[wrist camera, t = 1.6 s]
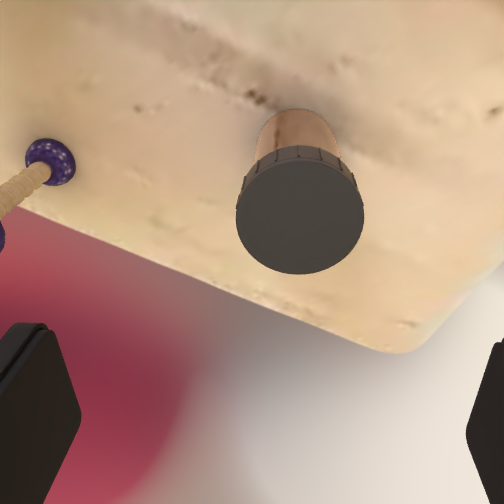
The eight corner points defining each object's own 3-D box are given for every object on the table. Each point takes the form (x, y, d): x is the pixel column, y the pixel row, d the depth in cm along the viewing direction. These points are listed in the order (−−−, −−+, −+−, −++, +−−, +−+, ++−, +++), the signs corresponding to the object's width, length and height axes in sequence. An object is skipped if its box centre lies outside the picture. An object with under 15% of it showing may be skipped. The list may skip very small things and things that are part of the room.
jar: (241, 154, 38) (222, 225, 27) (290, 91, 35) (291, 141, 24) (300, 198, 40) (305, 281, 29) (352, 141, 37) (379, 209, 26)
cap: (216, 210, 29) (210, 231, 27) (290, 117, 26) (290, 131, 23) (304, 271, 31) (306, 295, 29) (384, 192, 28) (393, 212, 25)
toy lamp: (51, 124, 38) (-91, 209, 24) (93, 165, 40) (-16, 268, 25) (18, 157, 40) (-131, 256, 26) (60, 195, 41) (-59, 307, 27)
